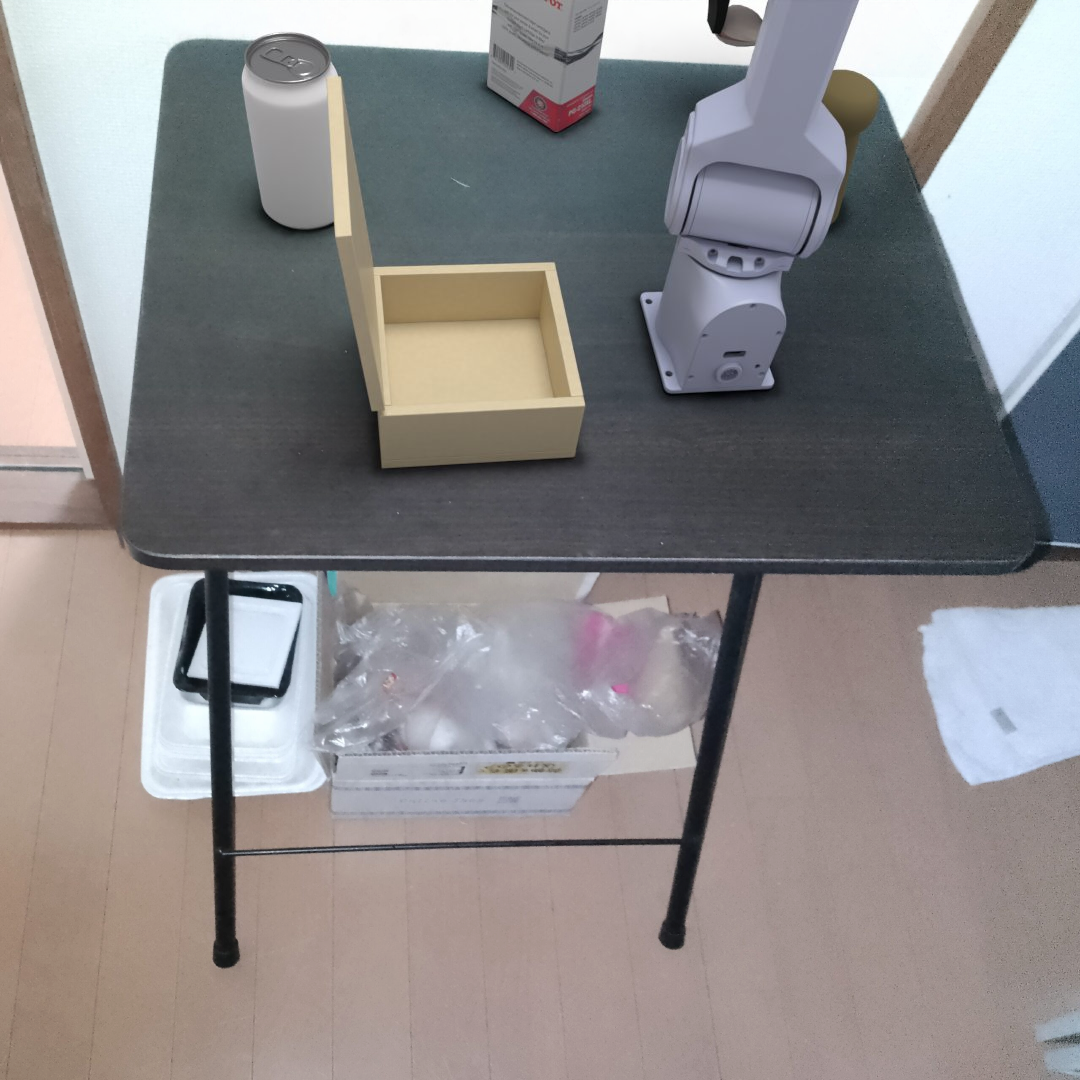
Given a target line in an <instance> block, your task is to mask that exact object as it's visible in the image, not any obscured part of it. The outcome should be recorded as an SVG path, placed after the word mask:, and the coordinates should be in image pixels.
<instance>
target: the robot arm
mask: <svg viewBox="0 0 1080 1080" xmlns="http://www.w3.org/2000/svg"><path fill="white" fill-rule="evenodd" d="M707 2H708V5H707V16H706V22H707V24H708V27H709V29H710V32H711V34H712V35H715V34H721V32H722V29H723V27H724V24H725V20H726V16H727V11H728V7H729V6H730V2H731V0H708V1H707ZM859 2H860V0H767V2H766V5H765V8H764V13H763V18H762V24H761V27H760V31H759V34H758V37H757V41H756V44H755V46H753V47H754V48H753V50H752V54H751V58H750V61H749V65H748V68H747V71H746V75H745V78H743V79H742V80H740V81H737V82H736V83H735V84H733V85H730V86H728V87H726V88H724V89H721V90H719V91H717V92H715V93H713V94H711V95H708V96H706V97H704V98H702V99H701V100H699V101H698V102H696V103H695V106H694V107H695V108H694V110H693V111H691V112H690V113H689V116H688V119H687V122H686V127H685V129H684V132H683V133H684V134H683V136H681V138H680V140H679V143H678V146H677V148H676V153H675V157H674V162H673V166H672V170H671V174H670V175H671V176H670V179H669V185H668V189H667V195H666V201H665V207H664V213H663V214H664V215H663V216H664V217H663V223H664V225H665V227H666V229H668V234H670V235H672V236H677V239H676V241H675V246H674V249H673V253H672V255H671V261H670V264H669V267H668V270H667V274H666V279H665V281H664V286H663V289H662V291H645V292H642V293H641V294H640V298H639V302H640V305H641V309H642V314H643V316H644V320H645V324H646V328H647V331H648V334H649V338H650V342H651V346H652V350H653V353H654V356H655V360H656V364H657V368H658V371H659V375H660V379H661V382H662V386H663V389H664V391H665V392H666V393H668V394H688V393H689V394H690V393H691V394H692V393H708V392H709V393H710V392H711V393H713V392H731V391H732V392H733V391H751V390H770V389H772V388H773V386H774V384H775V379H774V376H773V373H772V371H771V368H770V366H771V364H772V362H773V360H774V358H775V355H776V353H777V350H778V348H779V346H780V343H781V342H782V338H783V337H784V335H785V332H786V328H787V316H786V312H785V308H784V304H783V300H782V292H781V291H782V290H781V285H782V276H783V275H782V274H783V272H789V271H790V270H791V268H792V265H793V262H794V260H795V258H796V257H798V258H800V259H808V258H809V257H811V255H812V254H813V253H815V252H816V251H817V250H818V249H819V248H820V247H821V246H822V244H823V242H824V240H825V239H826V236H827V234H828V231H829V228H830V226H831V224H830V223H831V220H832V216H833V213H834V209H835V205H836V201H837V196H838V192H839V189H840V186H841V183H842V181H843V178H844V175H845V171H846V159H847V152H846V144H845V136H844V132H843V130H842V128H841V126H840V125H839V123H838V122H837V121H836V119H835V118H834V117H833V116H832V114H831V113H830V112H829V111H828V109H827V108H826V107H825V106H824V104H823V103H822V102H821V101H822V98H823V96H824V93H825V90H826V88H827V85H828V82H829V80H830V77H831V74H832V72H833V70H835V66H836V64H837V60H838V58H839V55H840V53H841V50H842V48H843V45H844V42H845V39H846V37H847V34H848V32H849V29H850V26H851V23H852V21H853V18H854V16H855V13H856V10H857V7H858V5H859Z"/></svg>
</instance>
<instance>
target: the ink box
mask: <svg viewBox="0 0 1080 1080" xmlns="http://www.w3.org/2000/svg"><path fill="white" fill-rule="evenodd" d="M608 4H609V0H491V14H490V15H491V16H490V31H489V43H488V44H489V45H488V62H487V76H486V77H487V79H486V87H488V88H489V89H490V90H492V91H493V92H495V93H496V94H498V96H501V97H502V98H504V99H505V100H507V101H508V102H510V103H511V104H512V105H514V106H516V107H517V108H519V109H520V110H522V111H523V112H525V113H527V114H528V115H530V117H532V118H534V119H535V120H537V121H538V122H539V123H541V124H543V125H544V126H545V127H547V128H548V129H550V130H551V131H553V132H555V133H556V132H557V133H560V131H562V130H564V129H566V128H567V127H569V126H571V125H573V124H574V123H576V122H578V121H579V120H580V119H583V118H584V117H585V116H587V115H588V114H590V113H592V112H593V105H594V99H595V92H596V86H597V78H598V72H599V64H600V58H601V53H602V44H603V39H604V32H605V26H606V18H607V11H608Z"/></svg>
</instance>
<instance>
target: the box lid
mask: <svg viewBox="0 0 1080 1080" xmlns="http://www.w3.org/2000/svg"><path fill="white" fill-rule="evenodd" d="M326 82H327V100H328V118H329V136H330V154H331V173H332V191H333V209H334V222H333V225H334V227H333V228H334V239H335V244H336V248H337V254H338V258H339V262H340V263H339V264H340V267H341V272H342V276H343V283H344V286H345V287H344V288H345V292H346V296H347V301H348V306H349V310H350V315H351V319H352V325H353V330H354V334H355V335H354V336H355V339H356V344H357V348H358V349H357V350H358V353H359V359H360V362H361V368H362V372H363V373H362V374H363V378H364V382H365V387H366V392H367V396H368V402H369V406H370V410H371V412H377V411H381V410H385V403H384V391H383V379H382V367H381V355H380V343H379V330H378V318H377V306H376V294H375V282H374V270H373V267H374V260H373V254H372V248H371V242H370V237H369V232H368V230H369V229H368V225H367V220H366V214H365V208H364V202H363V196H362V195H363V194H362V190H361V185H360V179H359V173H358V167H357V166H358V165H357V161H356V156H355V150H354V143H353V139H352V138H353V137H352V132H351V126H350V121H349V115H348V110H347V109H348V108H347V103H346V97H345V92H344V87H343V80H342V77H341V76H339V75H338V77H327V78H326Z"/></svg>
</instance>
